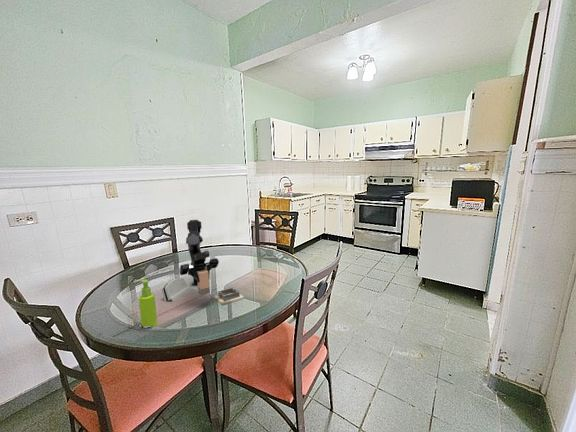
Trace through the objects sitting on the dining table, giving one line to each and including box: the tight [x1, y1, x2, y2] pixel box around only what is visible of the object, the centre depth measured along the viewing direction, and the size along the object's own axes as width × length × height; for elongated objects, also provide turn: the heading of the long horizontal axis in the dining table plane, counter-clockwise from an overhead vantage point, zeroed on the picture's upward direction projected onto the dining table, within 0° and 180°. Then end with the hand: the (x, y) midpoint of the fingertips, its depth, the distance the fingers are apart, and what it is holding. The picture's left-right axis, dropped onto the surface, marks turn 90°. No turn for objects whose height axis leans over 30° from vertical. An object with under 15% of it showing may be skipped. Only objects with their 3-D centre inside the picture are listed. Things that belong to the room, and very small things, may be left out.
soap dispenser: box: [138, 278, 158, 327], centre depth 108 cm, size 6×7×20 cm
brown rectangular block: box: [197, 270, 211, 296], centre depth 124 cm, size 4×4×11 cm
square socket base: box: [213, 287, 245, 306], centre depth 133 cm, size 12×12×4 cm
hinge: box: [161, 277, 192, 303], centre depth 139 cm, size 17×5×10 cm, turn 168°
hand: (204, 280), depth 123 cm, fingers closed on brown rectangular block, 4 cm apart
